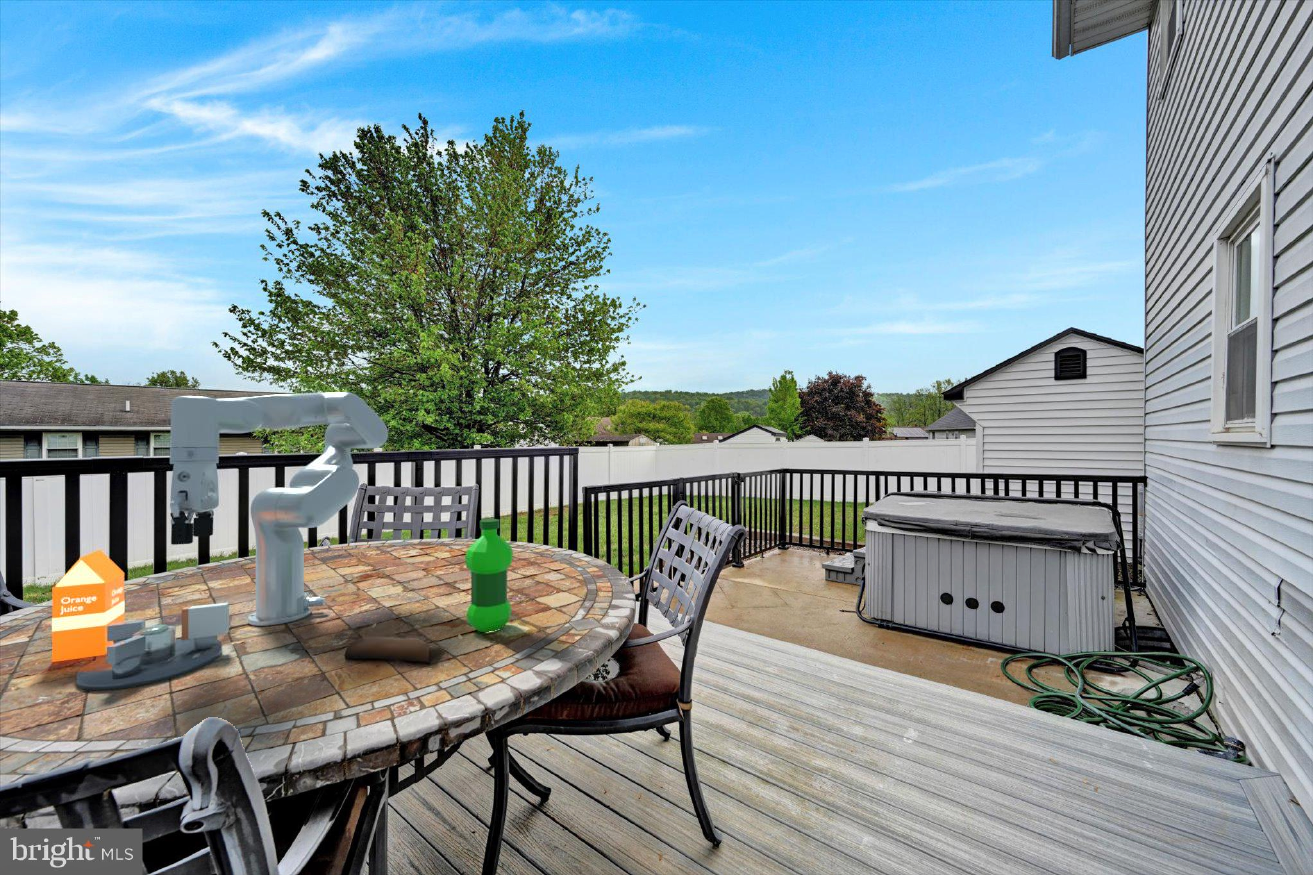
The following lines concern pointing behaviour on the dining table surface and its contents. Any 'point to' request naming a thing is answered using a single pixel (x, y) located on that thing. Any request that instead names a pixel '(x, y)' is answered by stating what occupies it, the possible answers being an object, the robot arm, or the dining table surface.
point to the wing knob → (205, 623)
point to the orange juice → (86, 607)
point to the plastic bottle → (489, 579)
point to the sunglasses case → (393, 649)
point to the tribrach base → (152, 671)
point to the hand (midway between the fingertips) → (193, 539)
